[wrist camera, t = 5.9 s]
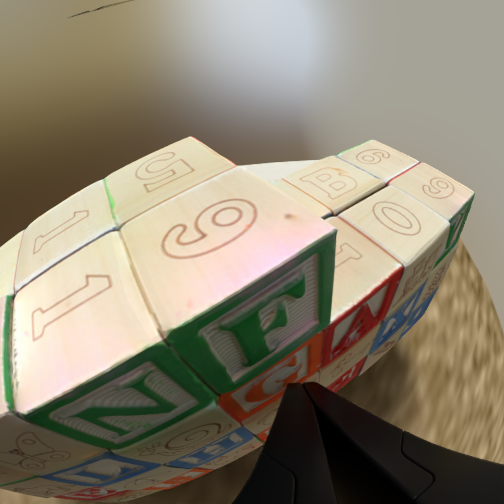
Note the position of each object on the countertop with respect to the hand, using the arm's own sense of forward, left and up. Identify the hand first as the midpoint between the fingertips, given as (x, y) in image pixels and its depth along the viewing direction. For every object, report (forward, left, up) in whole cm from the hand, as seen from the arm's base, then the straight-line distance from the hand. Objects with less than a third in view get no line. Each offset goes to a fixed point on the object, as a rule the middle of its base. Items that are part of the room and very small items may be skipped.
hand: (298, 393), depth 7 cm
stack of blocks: (+1, +1, -8) cm, 8 cm away
